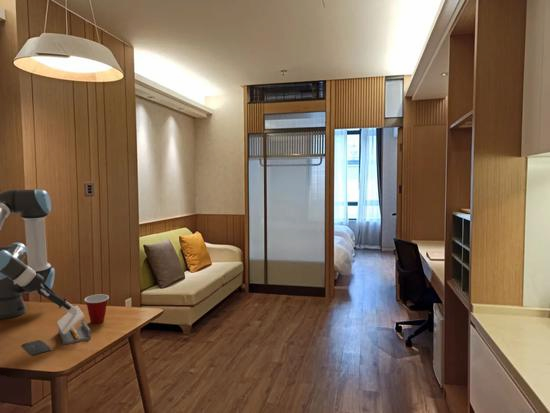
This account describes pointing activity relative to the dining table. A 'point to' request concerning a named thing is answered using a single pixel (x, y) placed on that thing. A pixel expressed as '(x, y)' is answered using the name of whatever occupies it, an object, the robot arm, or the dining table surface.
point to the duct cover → (70, 320)
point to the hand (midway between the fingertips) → (75, 312)
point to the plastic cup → (96, 307)
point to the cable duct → (76, 334)
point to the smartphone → (36, 347)
